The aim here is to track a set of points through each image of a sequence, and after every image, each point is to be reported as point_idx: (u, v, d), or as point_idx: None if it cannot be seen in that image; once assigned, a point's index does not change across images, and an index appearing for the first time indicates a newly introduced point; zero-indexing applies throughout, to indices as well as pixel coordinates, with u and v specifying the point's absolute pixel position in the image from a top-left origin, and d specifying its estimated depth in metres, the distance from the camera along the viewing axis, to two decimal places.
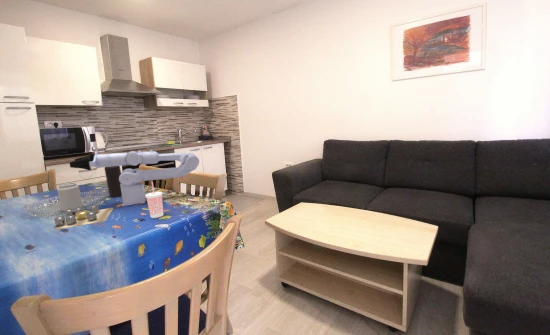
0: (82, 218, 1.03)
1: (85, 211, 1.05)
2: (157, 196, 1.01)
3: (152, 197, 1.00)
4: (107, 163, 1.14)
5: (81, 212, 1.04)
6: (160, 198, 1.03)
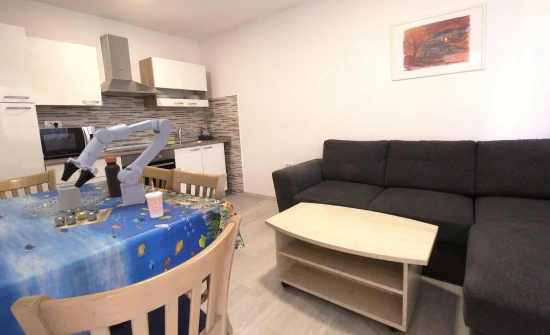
0: (82, 218, 1.03)
1: (85, 211, 1.05)
2: (157, 196, 1.01)
3: (152, 197, 1.00)
4: (95, 159, 1.09)
5: (81, 212, 1.04)
6: (160, 198, 1.03)
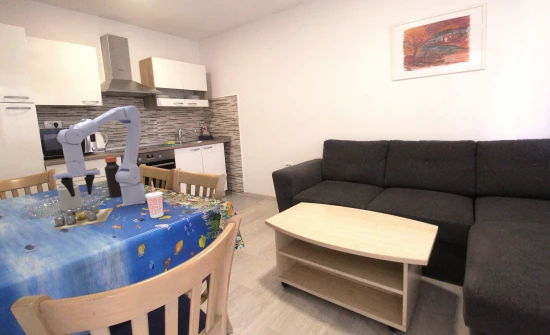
0: (82, 218, 1.03)
1: (85, 211, 1.05)
2: (157, 196, 1.01)
3: (152, 197, 1.00)
4: None
5: (81, 212, 1.04)
6: (160, 198, 1.03)
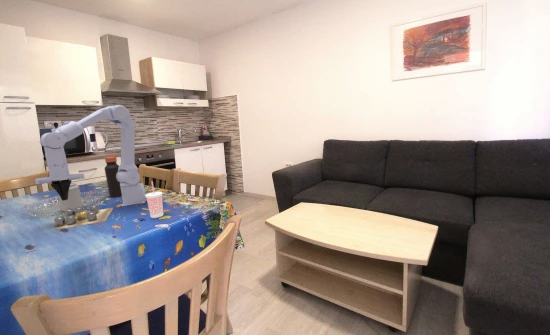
0: (82, 218, 1.03)
1: (85, 211, 1.05)
2: (157, 196, 1.01)
3: (152, 197, 1.00)
4: (67, 165, 1.01)
5: (81, 212, 1.04)
6: (160, 198, 1.03)
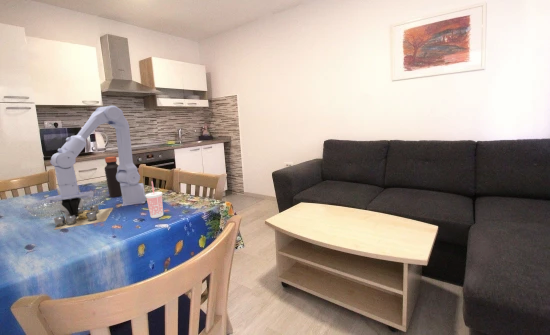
0: (84, 218, 1.03)
1: (87, 211, 1.05)
2: (157, 196, 1.01)
3: (152, 197, 1.00)
4: (77, 184, 1.03)
5: (83, 212, 1.04)
6: (160, 198, 1.03)
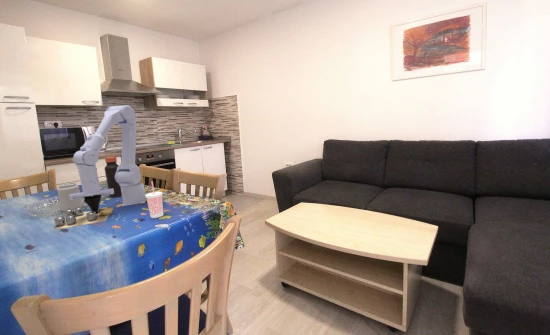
0: (105, 214, 1.06)
1: (108, 207, 1.08)
2: (157, 196, 1.01)
3: (152, 197, 1.00)
4: (98, 181, 1.06)
5: (104, 208, 1.07)
6: (160, 198, 1.03)
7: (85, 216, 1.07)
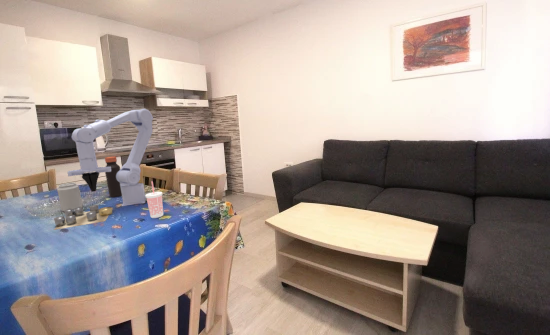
0: (105, 214, 1.06)
1: (108, 207, 1.08)
2: (157, 196, 1.01)
3: (152, 197, 1.00)
4: None
5: (104, 208, 1.07)
6: (160, 198, 1.03)
7: (85, 216, 1.07)
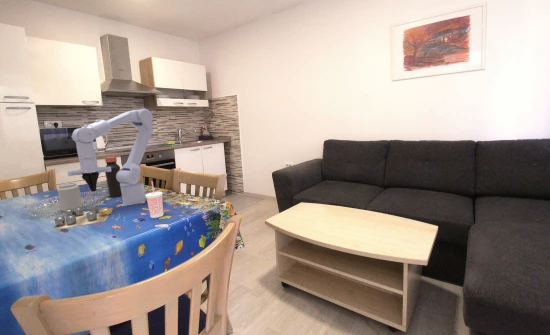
0: (105, 214, 1.06)
1: (108, 207, 1.08)
2: (157, 196, 1.01)
3: (152, 197, 1.00)
4: None
5: (104, 208, 1.07)
6: (160, 198, 1.03)
7: (85, 216, 1.07)
